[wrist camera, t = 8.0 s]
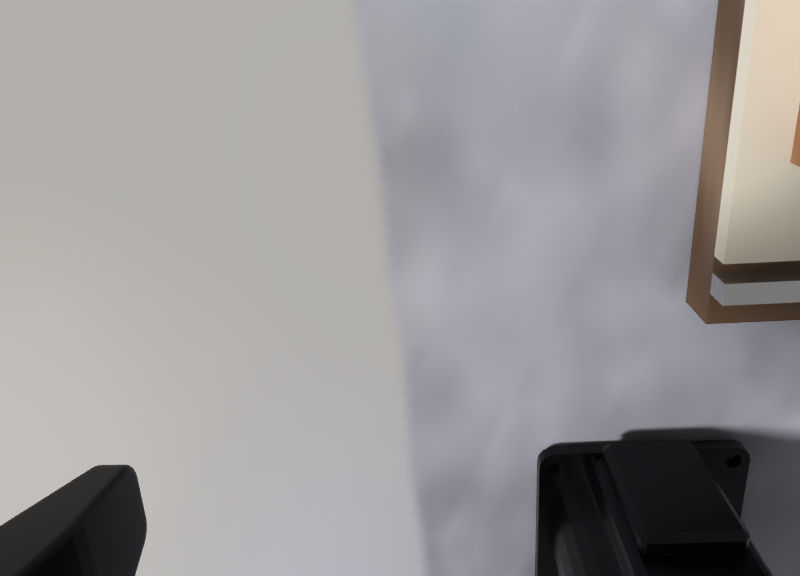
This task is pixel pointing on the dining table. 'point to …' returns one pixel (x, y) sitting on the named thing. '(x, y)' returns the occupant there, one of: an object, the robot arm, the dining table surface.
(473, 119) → the dining table surface
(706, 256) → the ticket board
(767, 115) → the stub
